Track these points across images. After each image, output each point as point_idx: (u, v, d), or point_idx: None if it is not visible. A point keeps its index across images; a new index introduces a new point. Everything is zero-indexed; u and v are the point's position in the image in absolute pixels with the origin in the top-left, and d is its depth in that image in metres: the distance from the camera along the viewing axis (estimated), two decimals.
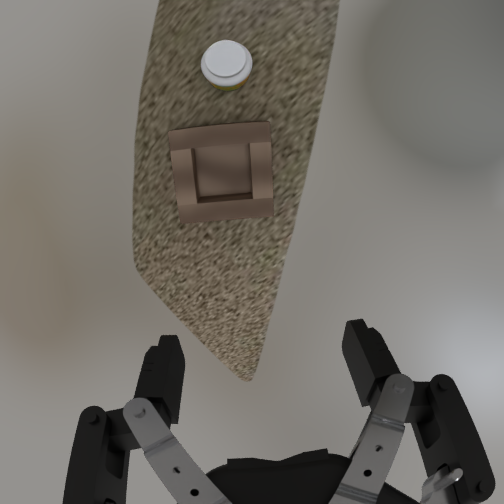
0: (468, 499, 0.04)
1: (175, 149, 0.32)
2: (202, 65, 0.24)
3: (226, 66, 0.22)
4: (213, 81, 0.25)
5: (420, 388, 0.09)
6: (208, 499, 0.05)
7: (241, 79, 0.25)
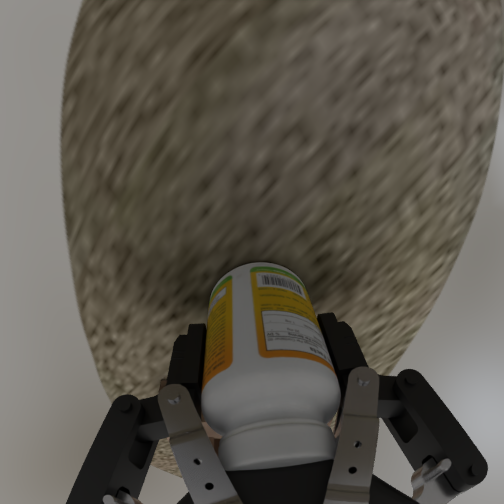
0: (463, 484, 0.04)
1: None
2: (207, 423, 0.09)
3: None
4: None
5: (387, 382, 0.09)
6: (220, 495, 0.05)
7: None
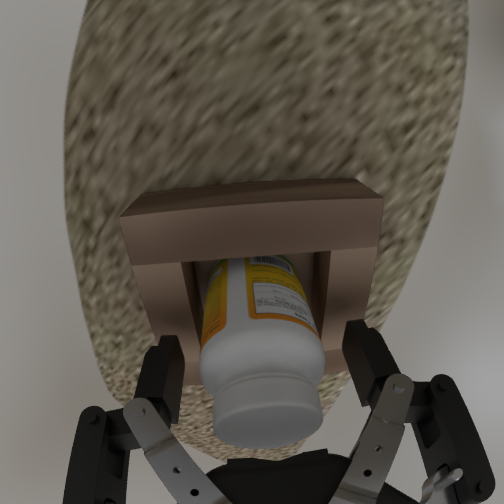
0: (468, 499, 0.04)
1: (143, 262, 0.13)
2: (204, 385, 0.11)
3: (269, 440, 0.09)
4: None
5: (420, 388, 0.09)
6: (208, 499, 0.05)
7: None
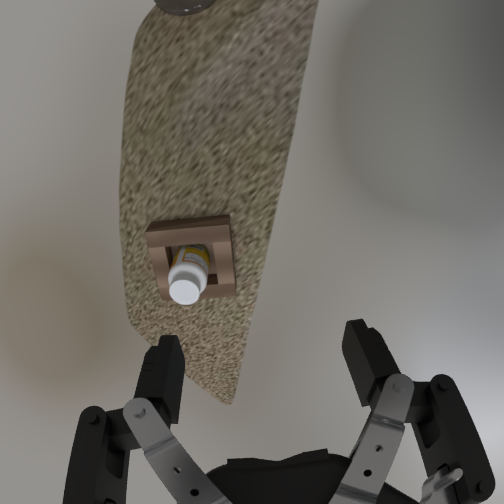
0: (468, 499, 0.04)
1: (152, 246, 0.39)
2: (169, 284, 0.37)
3: (185, 298, 0.36)
4: None
5: (420, 388, 0.09)
6: (208, 499, 0.05)
7: (199, 293, 0.39)
